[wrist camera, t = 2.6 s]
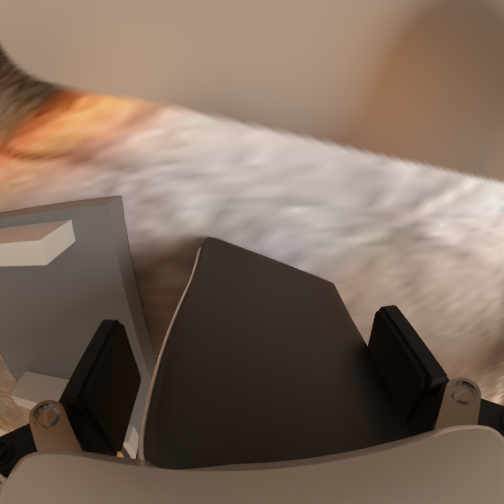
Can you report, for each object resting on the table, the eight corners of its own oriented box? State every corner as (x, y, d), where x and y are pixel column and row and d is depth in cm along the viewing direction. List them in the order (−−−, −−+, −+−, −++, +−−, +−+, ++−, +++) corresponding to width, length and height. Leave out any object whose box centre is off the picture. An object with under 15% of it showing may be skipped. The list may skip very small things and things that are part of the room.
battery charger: (178, 297, 15) (112, 530, 4) (202, 229, 13) (119, 496, 3) (303, 339, 16) (352, 547, 5) (339, 281, 15) (445, 499, 4)
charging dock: (121, 195, 13) (79, 222, 9) (191, 460, 21) (187, 498, 17) (-32, 219, 12) (-73, 242, 9) (73, 441, 21) (61, 472, 17)
